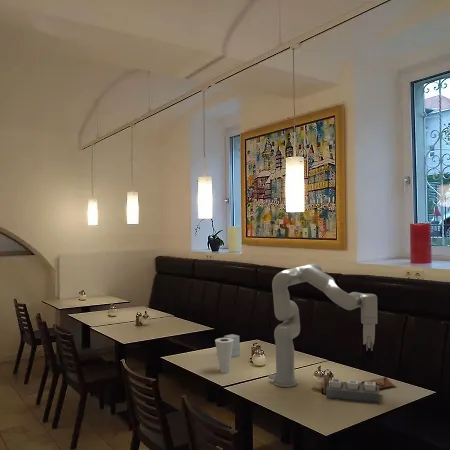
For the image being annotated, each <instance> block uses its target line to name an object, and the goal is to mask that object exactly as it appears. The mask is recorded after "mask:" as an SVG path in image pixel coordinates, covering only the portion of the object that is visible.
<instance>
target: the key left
mask: <svg viewBox="0 0 450 450" xmlns="http://www.w3.org/2000/svg"><path fill="white" fill-rule="evenodd" d="M331 379H332V380H331ZM331 379H330V380H329V381H330V387H333V388H342V382H343V380H342V379H340V378H331Z"/></svg>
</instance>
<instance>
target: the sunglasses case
mask: <svg viewBox="0 0 450 450" xmlns="http://www.w3.org/2000/svg"><path fill="white" fill-rule="evenodd" d="M365 381H367V382H376V385H379V392H380V391H384V390H388V389H393V388H397V386H396V385H395V384H393V383H392V381H390V380H389V379H388V378H387V376H384V377H382V378H381V377H379V378H375V379H370V380H363V381H361V382H360V383H361V384H365Z"/></svg>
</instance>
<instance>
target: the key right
mask: <svg viewBox="0 0 450 450" xmlns="http://www.w3.org/2000/svg"><path fill="white" fill-rule="evenodd" d="M364 381H365V384H364V390H368V391H376V382H367V381H368V380H364Z"/></svg>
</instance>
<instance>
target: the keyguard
mask: <svg viewBox="0 0 450 450" xmlns="http://www.w3.org/2000/svg"><path fill="white" fill-rule="evenodd" d="M347 382H348V381H342V388H333V387H329V386H328V385H327V386H326V390H325V396H326V397H325V399H326V398H330V399H329V400H335V399H339V400H338V401H346V400H347V402H356V403H357V402H359V403H367V404H368V403H369V404H379V402H380V391H379V385H376V391H368V390H364V384H361V382H358V383H359V389H358V390H356V389H347Z"/></svg>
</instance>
